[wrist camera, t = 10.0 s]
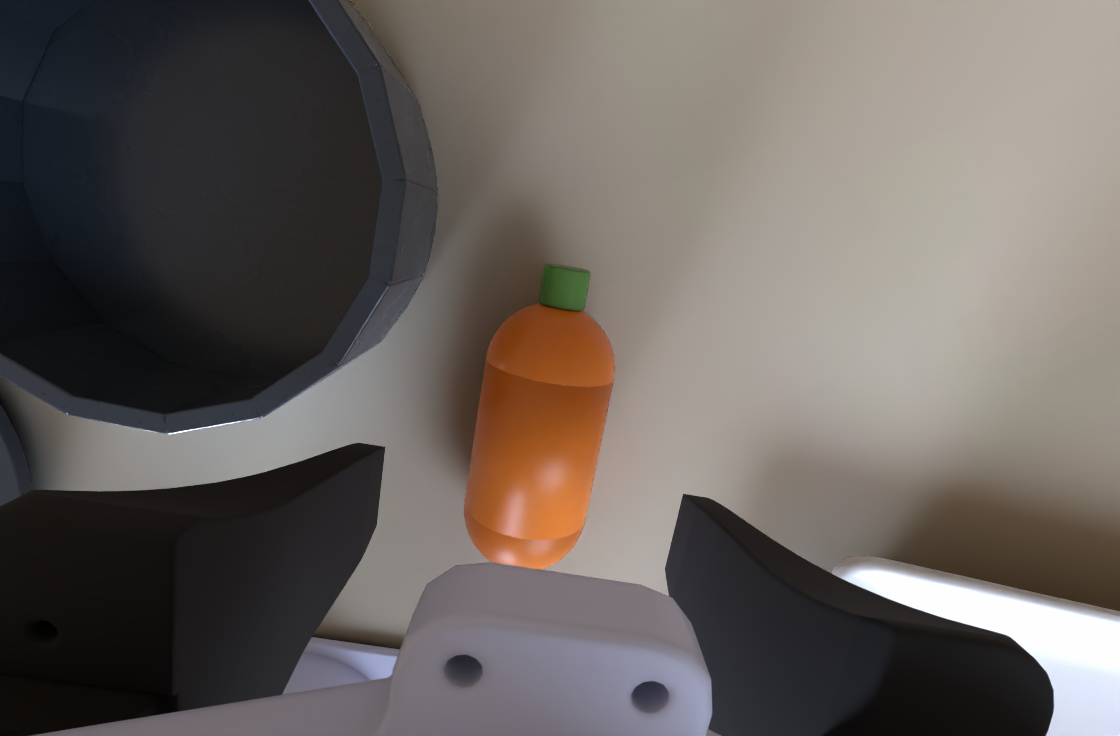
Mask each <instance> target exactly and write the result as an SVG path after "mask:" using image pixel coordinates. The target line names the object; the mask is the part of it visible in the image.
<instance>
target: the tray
mask: <svg viewBox="0 0 1120 736" xmlns="http://www.w3.org/2000/svg"><path fill="white" fill-rule="evenodd" d="M831 574H833V575H835V576H837V577H839V578H841V579H844V580H846V581H848V582H850V583H852V584H854V585H857V586H859V587H861V588H864V589H866V590H868V591H871V592H873V593H876V594H878V595H880V596H883V597H885V598H888V599H890V600H893V601H896V602H898V603H901V604H904V605H907V606H909V607H912V608H915V609H918V610H921V611H924V612H927V613H930V614H933V615H936V616H939V617H943V618H946V619H949V620H953V621H957V622H961V623H964V624H968V625H972V626H975V627H979V628H983V629H987V630H990V631H994V632H998V633H1001V634H1005V635H1007V636H1009V637H1011V638H1012V639H1013V640H1015V641H1016V642H1017V643H1018V644H1019V645H1020V646H1021V647H1023V648H1024V649H1025V650H1026V651H1027V652H1028V653H1029V654H1030V655H1032V656H1033V657H1034V658H1035V659H1036V660H1037V661H1038V663H1039V664H1040V665H1041V666H1042V667H1043V669H1044V670H1045V671H1046V672H1047V674H1048V676H1049V679H1050V682H1051V684H1052V687H1053V689H1054V712H1053V716H1052V719H1051V723H1050V726H1049V730H1048V732H1047V734H1046V736H1120V611H1116V610H1111V609H1107V608H1102V607H1098V606H1093V605H1089V604H1084V603H1080V602H1076V601H1071V600H1067V599H1062V598H1058V597H1053V596H1049V595H1044V594H1040V593H1035V592H1031V591H1027V590H1022V589H1018V588H1013V587H1009V586H1005V585H1000V584H996V583H992V582H987V581H983V580H979V579H974V578H970V577H966V576H961V575H957V574H952V573H948V572H943V571H939V570H934V569H930V568H925V567H921V566H917V565H912V564H908V563H904V562H899V561H894V560H889V559H885V558H880V557H873V556H852V557H849V558H846V559H844V560H843V561H842V562H840V563H839V564H838V565H837V566H836V567H835V568H834V569H833V571H832V572H831Z"/></svg>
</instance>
